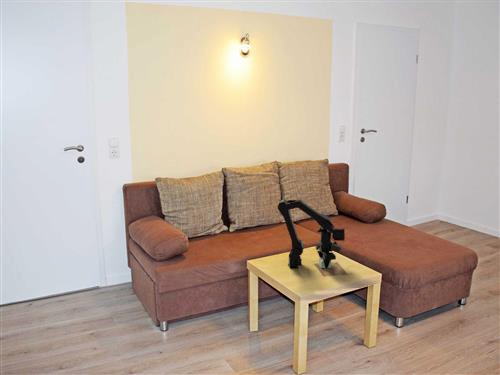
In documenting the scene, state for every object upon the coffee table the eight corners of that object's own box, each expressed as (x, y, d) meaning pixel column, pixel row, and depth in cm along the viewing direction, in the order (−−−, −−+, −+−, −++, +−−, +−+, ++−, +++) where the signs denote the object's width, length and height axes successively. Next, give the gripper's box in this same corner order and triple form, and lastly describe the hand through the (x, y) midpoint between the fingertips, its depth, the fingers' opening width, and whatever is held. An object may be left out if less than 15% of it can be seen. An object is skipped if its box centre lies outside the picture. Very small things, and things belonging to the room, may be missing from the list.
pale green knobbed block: (328, 263, 254) (328, 256, 253) (331, 267, 248) (331, 260, 247) (318, 264, 253) (318, 257, 252) (321, 268, 247) (321, 260, 247)
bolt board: (323, 278, 238) (323, 271, 237) (313, 265, 255) (313, 259, 254) (348, 276, 240) (348, 269, 239) (337, 264, 257) (337, 257, 256)
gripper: (345, 244, 239) (344, 271, 243) (334, 233, 257) (333, 259, 261) (325, 245, 238) (324, 273, 241) (315, 234, 256) (314, 260, 259)
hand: (324, 266), depth 251 cm, fingers closed on pale green knobbed block, 6 cm apart
